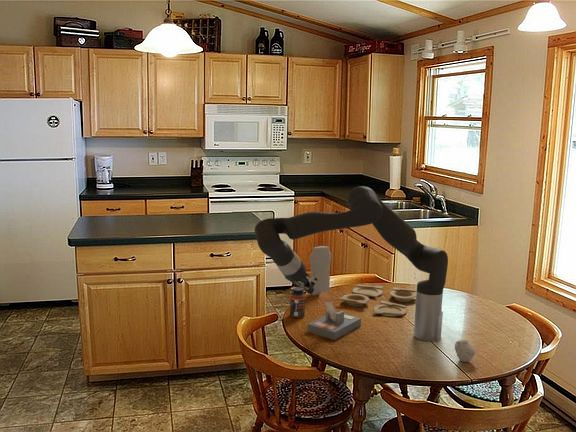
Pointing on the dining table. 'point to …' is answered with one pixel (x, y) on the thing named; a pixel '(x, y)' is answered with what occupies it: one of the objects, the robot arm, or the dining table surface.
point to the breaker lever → (328, 304)
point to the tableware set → (386, 307)
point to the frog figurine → (464, 350)
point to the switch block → (334, 325)
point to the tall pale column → (320, 269)
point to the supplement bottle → (297, 303)
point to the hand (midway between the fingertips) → (311, 291)
